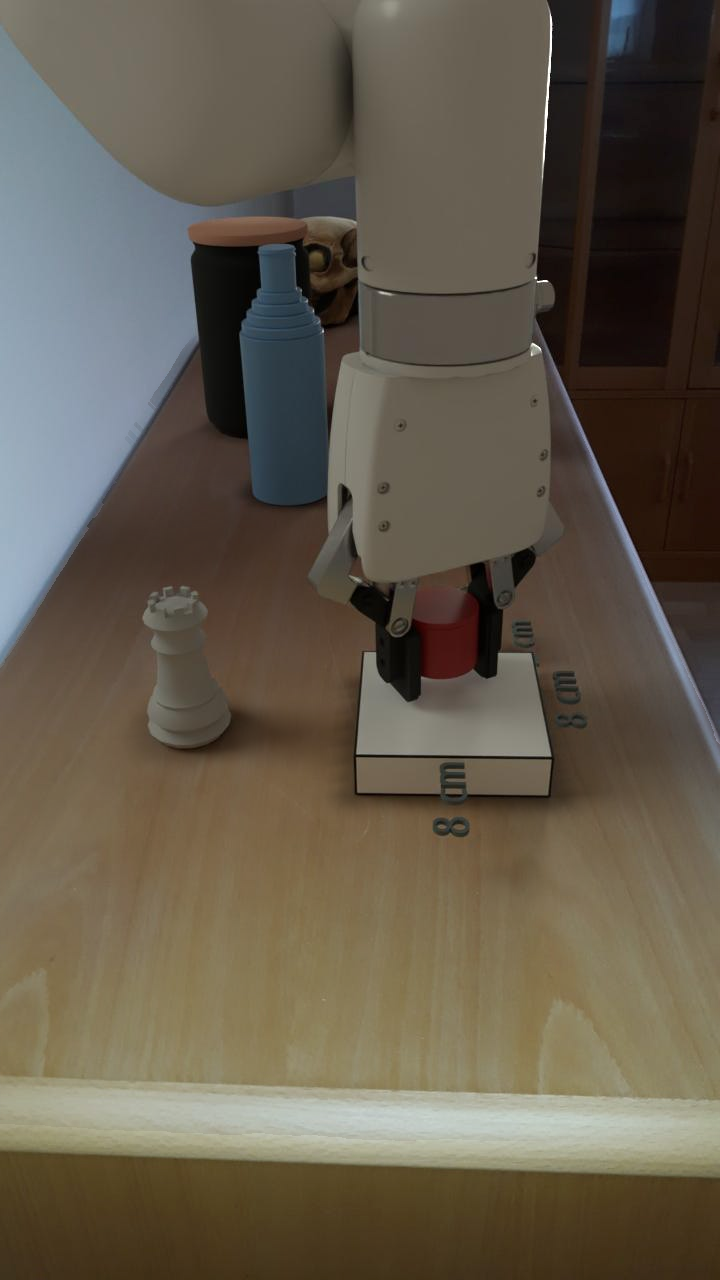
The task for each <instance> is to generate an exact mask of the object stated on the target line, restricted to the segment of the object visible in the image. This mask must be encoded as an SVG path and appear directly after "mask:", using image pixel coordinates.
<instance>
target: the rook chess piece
mask: <svg viewBox="0 0 720 1280" xmlns="http://www.w3.org/2000/svg"><path fill="white" fill-rule="evenodd" d="M173 590H174V589H173V585H171V586H165V587H162V594H163V596H162V595H161V596H160V592H159V591H158V592H157V591H155V590H154V591H153V592H152V593H151V594H150V595H149V596H148V597H149V600H147V602H146V603H147V608H146V610H144V612H143V615H142V617H141V618H142V621H143V623H144V625H145V626H146V627H147V628H149V629H150V630H151V631H152V632H153V633H154V634H153V636H152V639H151V641H150V646H151V647H152V649H153V650H154V651H155V653H156V662H157V664H156V666H157V668H156V669H157V670H156V684H155V686H154V687H153V691H152V695H151V696H150V697H149V701H148V703H147V709H146V714H147V716H148V719H149V720H148V723H147V727H148V730H149V733H150V735H151V736H152V737H154V738H155V739H157V740H158V741H159V742H161V743H162V744H164V745H165V746H167V747H170V748H175V749H179V750H181V749H195V748H199V747H203V746H207V745H208V744H210V743H212V742H214V741H216V740H218V739H219V738H220V736H221V735H223V733H224V732H225V731H226V729H227V728H228V727H229V725H230V724H231V718H232V713H231V711H230V709H229V707H228V705H229V700H228V696H227V695H226V693H225V692H224V690H223V688H222V686H219V684H218V682H217V680H216V679H215V677H213V676H212V675H211V671H210V669H209V664H208V661H207V658H206V654H205V647H204V644H205V643H206V641H207V635H206V632H205V631H203V629H202V627H201V626H202V625H203V623H204V622H205V620H206V619H207V616H208V612H209V611H208V608H207V606H206V605H205V604H204V603H203V602H202V601H201V600H200V597H199V593H198V591H197V590H193V591H192V590H191V587H190V586H185V585H181V586H180V587H179V593H174V591H173Z"/></svg>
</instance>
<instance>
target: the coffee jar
mask: <svg viewBox="0 0 720 1280" xmlns="http://www.w3.org/2000/svg"><path fill="white" fill-rule="evenodd" d="M307 233H308V225H307V223H306V222H304V221H302V220H300V219H298V218H293V217H283V216H237V217H225V218H215V219H210V220H205V221H200V222H196V223H193V224H191V225H190V226H188V227H187V234H188V238H189V240H190V242H192V244H193V245H194V250H193V252H192V253H191V255H190V268H191V269H190V270H191V279H192V289H193V298H194V306H195V308H194V309H195V316H196V326H197V327H196V328H197V336H198V345H199V354H200V355H199V356H200V363H201V374H202V383H203V392H204V393H203V394H204V402H205V412H206V415H207V418H208V420H209V422H210V423H211V424H212V425H213V426H214V428H215V430H217V431H218V432H219V433H222V434H224V435H227V436H230V437H236V438H243V439H244V438H245V439H248V429H247V417H246V405H245V394H244V382H243V370H242V358H241V346H240V331H241V330H242V321H243V320H244V319H246V318H247V311H248V310H249V309H250V308H252V300H253V299H255V298H257V290H258V289H260V288H261V275H260V261H259V254H258V251H259V247H260V246H263V245H269V244H290V245H293V246H294V248H296V250H295V253H296V256H295V270H296V286H297V287H300V288H301V290H302V296H304V297H306V298H307V299H308V306H311V307H312V305H311V282H310V260H309V253H308V251H307V250H306V249H305V247H304V246H303V240H304V238H305V236H306V235H307Z"/></svg>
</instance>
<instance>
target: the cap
mask: <svg viewBox="0 0 720 1280" xmlns="http://www.w3.org/2000/svg"><path fill="white" fill-rule="evenodd" d="M411 626H413V627H414V628H415V629H416V630H417V631H418V632H419V633H420V636H421V677H425V678H430V679H452V678H456V677H459V676H462V675H465V674H467V673H468V672H470V671H471V670H472V669H473V668H474V667H475V665H476V663H477V659H478V627H479V603H478V601H477V599H476V598H475V597H474V596H472V595H471V594H469V593H467V592H465V591H462V590H460V588H454V587H448V586H447V587H445V586H434V587H433V586H432V587H426V588H422V589H417V594H416V600H415V606H414V611H413V617H412V623H411Z"/></svg>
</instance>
